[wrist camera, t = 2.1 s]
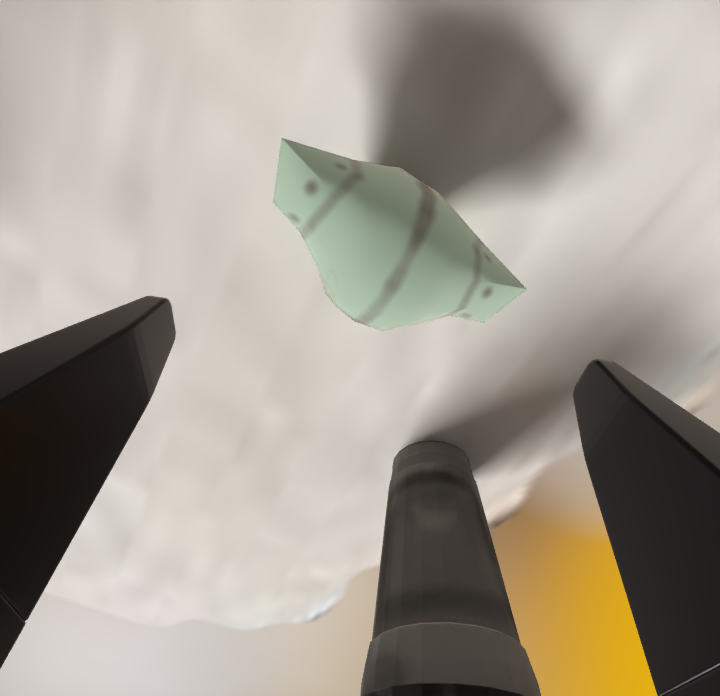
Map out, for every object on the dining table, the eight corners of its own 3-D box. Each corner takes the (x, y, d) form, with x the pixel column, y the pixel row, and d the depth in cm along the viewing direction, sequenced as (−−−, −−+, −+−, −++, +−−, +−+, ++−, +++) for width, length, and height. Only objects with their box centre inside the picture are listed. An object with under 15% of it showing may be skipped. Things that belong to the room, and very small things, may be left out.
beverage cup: (440, 515, 28) (497, 1140, 13) (346, 474, 26) (272, 1157, 11) (521, 458, 24) (752, 1268, 9) (417, 405, 22) (470, 1333, 7)
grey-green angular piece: (509, 213, 16) (566, 309, 11) (442, 293, 18) (462, 406, 13) (320, 86, 14) (274, 128, 9) (271, 195, 16) (210, 281, 11)
